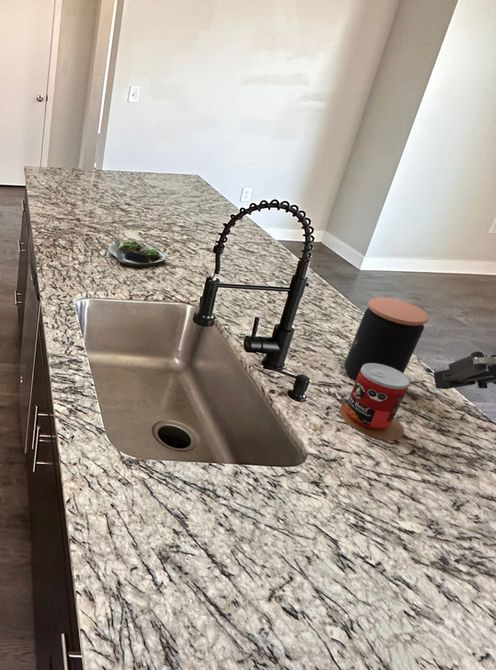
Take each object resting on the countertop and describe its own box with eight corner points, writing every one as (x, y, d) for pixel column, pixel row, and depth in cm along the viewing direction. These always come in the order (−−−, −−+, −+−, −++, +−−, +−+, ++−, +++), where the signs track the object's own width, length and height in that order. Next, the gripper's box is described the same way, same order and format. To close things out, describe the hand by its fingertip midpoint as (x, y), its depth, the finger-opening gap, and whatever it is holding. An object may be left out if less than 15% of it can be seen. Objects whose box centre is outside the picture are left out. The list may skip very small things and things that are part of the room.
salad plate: (94, 246, 186) (96, 234, 184) (139, 242, 191) (141, 230, 189) (123, 270, 170) (125, 257, 168) (171, 264, 175) (174, 251, 173)
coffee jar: (365, 360, 129) (392, 294, 121) (409, 387, 120) (441, 318, 112) (331, 367, 126) (357, 300, 118) (374, 395, 117) (405, 325, 109)
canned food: (336, 404, 113) (353, 361, 109) (374, 406, 113) (393, 363, 108) (358, 430, 106) (377, 385, 102) (398, 432, 106) (419, 387, 102)
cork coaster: (398, 413, 111) (398, 413, 111) (408, 447, 103) (409, 447, 103) (337, 396, 116) (337, 396, 116) (342, 428, 107) (342, 427, 107)
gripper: (523, 378, 70) (402, 398, 92) (635, 390, 68) (484, 407, 90) (511, 322, 72) (395, 355, 94) (619, 332, 71) (476, 363, 93)
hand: (439, 380), depth 92 cm, fingers closed
